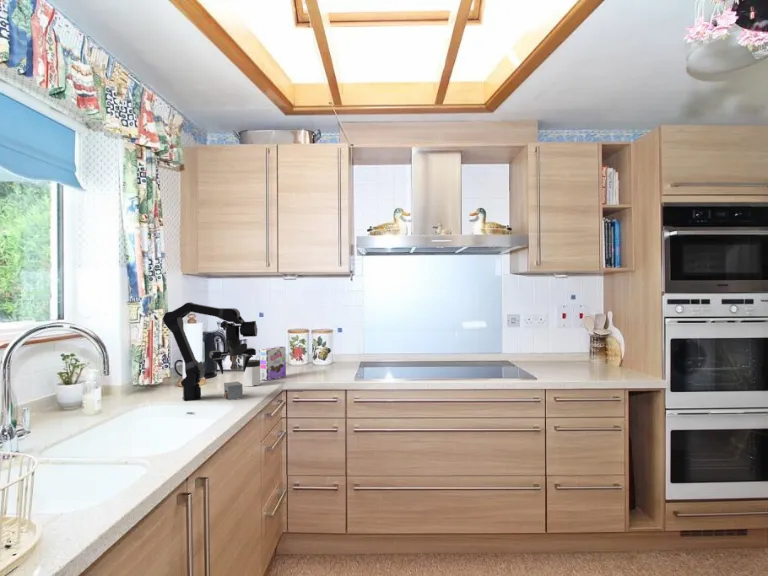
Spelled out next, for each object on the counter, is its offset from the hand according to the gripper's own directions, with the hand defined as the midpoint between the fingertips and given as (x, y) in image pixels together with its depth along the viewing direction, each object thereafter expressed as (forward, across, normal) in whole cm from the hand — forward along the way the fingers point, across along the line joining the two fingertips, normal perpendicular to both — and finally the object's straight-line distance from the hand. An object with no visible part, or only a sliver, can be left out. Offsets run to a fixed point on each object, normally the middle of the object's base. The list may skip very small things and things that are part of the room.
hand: (233, 372), depth 199 cm
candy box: (+11, +28, +33) cm, 45 cm away
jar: (+11, +14, +22) cm, 28 cm away
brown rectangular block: (+11, 0, 0) cm, 11 cm away
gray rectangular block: (+11, 0, 0) cm, 11 cm away
